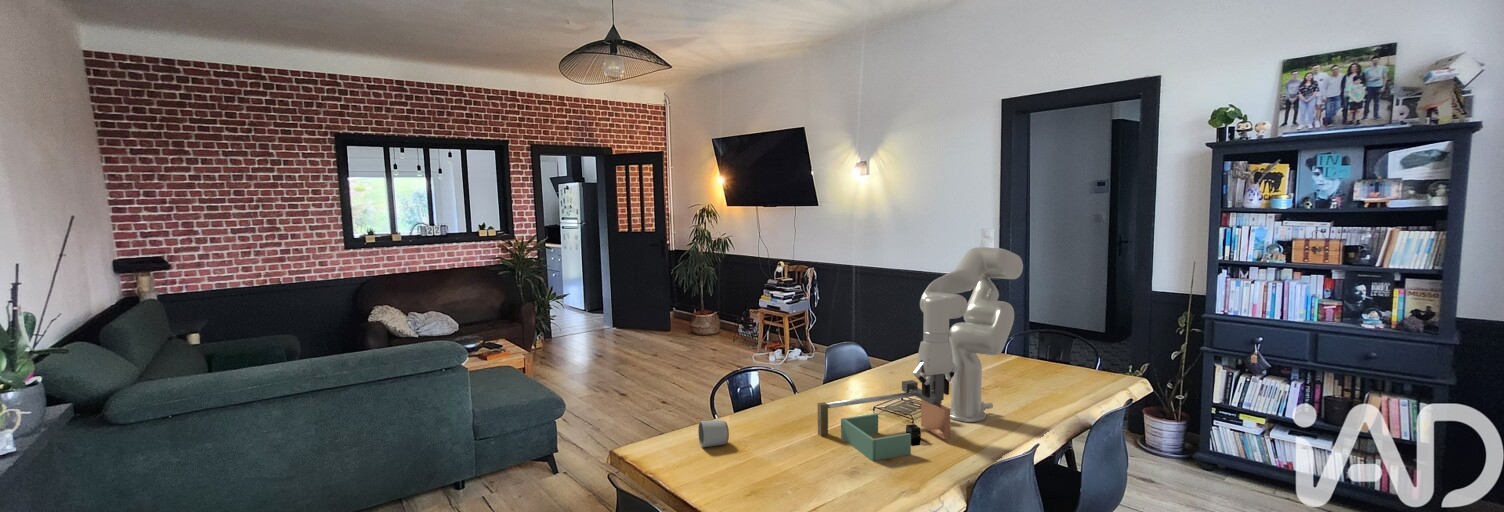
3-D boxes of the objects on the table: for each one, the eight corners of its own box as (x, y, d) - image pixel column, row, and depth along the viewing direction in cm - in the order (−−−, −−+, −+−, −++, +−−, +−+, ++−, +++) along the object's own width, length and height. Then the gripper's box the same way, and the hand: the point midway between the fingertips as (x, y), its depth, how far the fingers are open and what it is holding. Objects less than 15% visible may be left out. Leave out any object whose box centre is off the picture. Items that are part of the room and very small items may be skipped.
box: (876, 432, 202) (876, 413, 201) (910, 454, 184) (910, 434, 184) (841, 437, 198) (840, 418, 197) (872, 461, 180) (872, 440, 179)
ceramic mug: (730, 447, 192) (729, 422, 191) (703, 451, 189) (703, 425, 188) (720, 435, 202) (720, 411, 201) (695, 439, 199) (694, 415, 198)
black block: (933, 447, 190) (933, 432, 190) (911, 450, 189) (911, 434, 188) (914, 432, 203) (914, 418, 202) (892, 434, 201) (893, 420, 201)
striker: (912, 415, 213) (912, 360, 211) (952, 437, 193) (953, 377, 191) (901, 416, 212) (902, 361, 210) (941, 439, 192) (942, 379, 190)
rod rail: (929, 416, 215) (930, 388, 214) (934, 418, 213) (934, 389, 212) (817, 433, 201) (817, 403, 201) (821, 436, 199) (820, 405, 198)
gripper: (952, 332, 202) (951, 388, 203) (904, 337, 196) (904, 394, 197) (967, 337, 194) (966, 395, 196) (918, 342, 189) (918, 402, 190)
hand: (935, 394), depth 197 cm, fingers open, 6 cm apart
